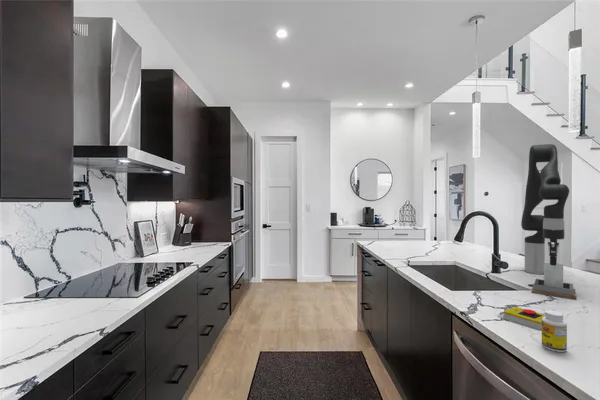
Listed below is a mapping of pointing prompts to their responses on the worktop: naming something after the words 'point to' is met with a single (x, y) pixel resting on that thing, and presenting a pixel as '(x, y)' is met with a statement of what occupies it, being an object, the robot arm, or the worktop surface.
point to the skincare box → (553, 275)
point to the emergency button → (523, 317)
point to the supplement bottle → (554, 331)
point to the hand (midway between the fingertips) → (553, 263)
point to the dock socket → (554, 290)
